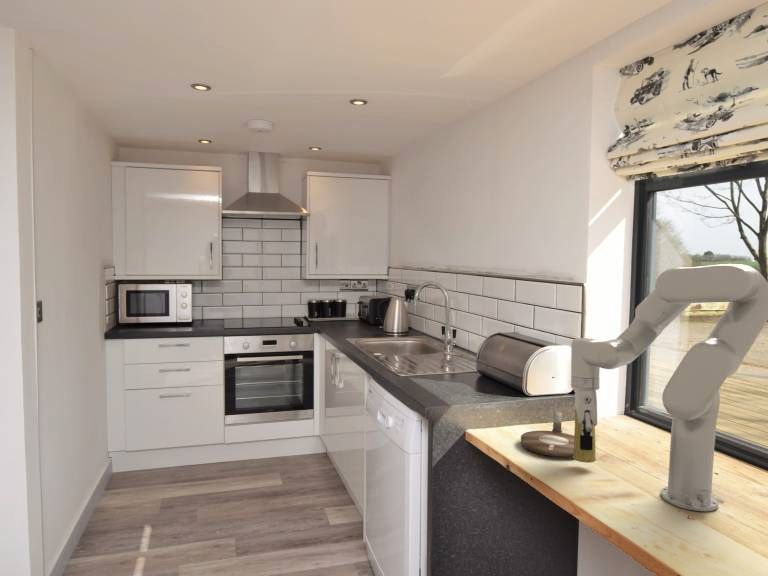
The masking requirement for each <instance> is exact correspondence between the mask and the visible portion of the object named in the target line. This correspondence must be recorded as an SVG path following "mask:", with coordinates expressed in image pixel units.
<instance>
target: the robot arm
mask: <svg viewBox="0 0 768 576" xmlns="http://www.w3.org/2000/svg"><path fill="white" fill-rule="evenodd" d="M728 302H729V303H728ZM701 303H702V304H703V303H728V306H727V308H726V309H725V311H724V312H723V313H722V315H721V316H720V318H719V319H718V321H717V323H716V324H715V326H714V328H713V329H712V331H711V332H710V333H709V335H708V336H707V337H706V338H705V340H701V341H700V342H697V343H695V344H694V345H693V346H692V347H690V349H689V350H687V352H686V353H685V354H684V357H683V358H682V359H681V361H680V362H679V365H678V366H677V367H676V369H675V370H674V372H673V374H672V375H671V377H670V378H669V380H668V382H667V384H666V385H665V387H664V389H663V391H662V395H661V397H662V398H661V399H662V404H663V407H664V409H665V411H666V412H667V413H668V414H669V415H670V416H672V421H671V429H670V430H671V432H670V445H669V446H670V447H669V462H668V477H667V478H668V480H667V486H664V487H662V488H661V489H660V497H661V498H662V499H663V500H664V501H665V502H667V503H668V504H671V505H673V506H675V507H677V508H681V509H686V510H688V511H695V512H712V511H715V510H717V509H718V508H719V501H718V500H717V498H716V497H714V496H713V495H712V491H713V490H712V487H713V472H714V458H715V446H716V445H715V444H716V434H717V433H716V432H717V422H718V417H719V410H720V404H721V403H720V402H721V395H720V391H719V390H720V389H721V387H722V386H723V384H724V382H725V381H726V380H727V379H728V378H729V377H731V376H733V375H734V374H735V373H736V372H737V371H738V370H739V367H740V366H741V364H742V362H743V361H744V359H745V358H746V356H747V355H748V353H749V351H750V350H751V349H752V346H753V345H754V344H755V342H756V340H757V339H758V337H759V335H760V333H761V332H762V330H763V328H764V327H765V325H766V324H767V321H768V281H767V280H766V278H765V277H764V276H763V275H762V274H761V273H760V272H759V271H758V270H756V269H755V268H753V267H751V266H749V265H746V264H739V263H738V264H737V263H727V264H726V263H725V264H715V265H714V264H713V265H703V266H692V267H691V266H690V267H674V268H673V267H672V268H668V269H666V270H664V271H662V272H661V273H660V274H659V275H658V276H657V278H656V281H655V285H654V289H653V290H652V291H651V292H649V294H648V295H647V296H646V297H645V298H644V299H643V300H641V302H640V303H639V304H638V305H637V306H636V308H635V312H634V313H635V314H634V315H635V317H634V318H633V321H632V322H631V323H630V324H629V326H628V327H627V328H626V329H625V330H624V331H623V332H622V333H621V334H619V336H617V337H616V338H615V339H610V340H606V341H598V340H597V339H595V338H588V337H587V338H586V337H584V338H582V337H581V338H579V337H578V338H575V339H573V340H572V341H571V346H570V347H571V349H570V350H571V351H570V352H571V356H570V357H571V359H570V362H571V363H570V365H571V366H570V373H571V374H570V375H571V376H570V388H572V389H573V390H574V409H575V408H576V411H577V419H578V423H579V424H580V425H581V435H580V449H581V450H592V441H593V436H592V423H593V425H595V427H596V426H598V398H597V390H600V369H604V370H615V369H618V368H620V367H624V366H627V365H629V364H631V363H632V362H634V361H635V360H636V359H637V358H639V357H640V355H641V354H643V353H644V352H645V351H646V350H647V349H648V348H649V347H650V346H651V345H652V344H653V343H654V342H655V341H656V340H657V339H658V338H659V336H660V335H661V334H662V333H663V331H664V330H665V329H666V328H667V327H668V326H669V325H670V324H671V323H672V322H673V321H675V319H677V318H678V317H679V316H680V315H681V314H682V313H684V311H685V310H686V309H687V308H688V307H690V306H691V305H692V304H701ZM584 414H585V416H584ZM583 422H585V424H583ZM583 427H585V428H583Z"/></svg>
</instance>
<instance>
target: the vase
mask: <svg viewBox="0 0 768 576" xmlns="http://www.w3.org/2000/svg"><path fill="white" fill-rule="evenodd" d="M584 416H585V414H584ZM583 424H585V422H583ZM583 428H585V427H583ZM580 435H581V425H580V424H579V423H578V419H577V411H576V408H575V407H574V435H573V436H574V455H573V457H572V458H573V460H575V461H577V462H580V463H585V464H586V463H589V464H590V463H595V462H596V461H597V458H596V426H595V425H593V423H592V436H593V441H592V450H581V449H580Z"/></svg>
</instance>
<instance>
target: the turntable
mask: <svg viewBox="0 0 768 576" xmlns="http://www.w3.org/2000/svg"><path fill="white" fill-rule="evenodd" d="M562 419H563V412H561V411H554V412H553V424H552V430H531V431H526V432H524V433H523V434H521V435H520V445H521V446H522V447H524V448H525V449H526V450H529V451H532V452H534V453H537V454H542V455H545V456H550V457H552V456H553V457H559V458H560V457H561V458H562V457H563V458H570V457H572V458H573V455H574V435H573V434H569V433H566V432H563V430H562V422H563V421H562Z"/></svg>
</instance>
